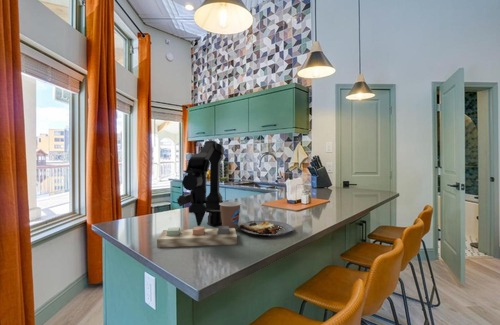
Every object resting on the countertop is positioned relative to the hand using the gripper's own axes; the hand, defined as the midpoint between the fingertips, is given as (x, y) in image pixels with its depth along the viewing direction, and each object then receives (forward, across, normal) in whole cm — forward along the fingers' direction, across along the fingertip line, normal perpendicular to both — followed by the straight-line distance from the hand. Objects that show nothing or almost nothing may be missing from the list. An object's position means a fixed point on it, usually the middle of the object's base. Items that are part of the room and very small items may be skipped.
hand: (198, 225), depth 102 cm
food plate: (+7, -11, +30) cm, 33 cm away
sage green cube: (+5, 0, -10) cm, 11 cm away
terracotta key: (+5, 0, 0) cm, 5 cm away
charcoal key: (+5, 0, +10) cm, 11 cm away
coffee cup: (+6, -16, +14) cm, 22 cm away
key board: (+6, 0, 0) cm, 6 cm away
